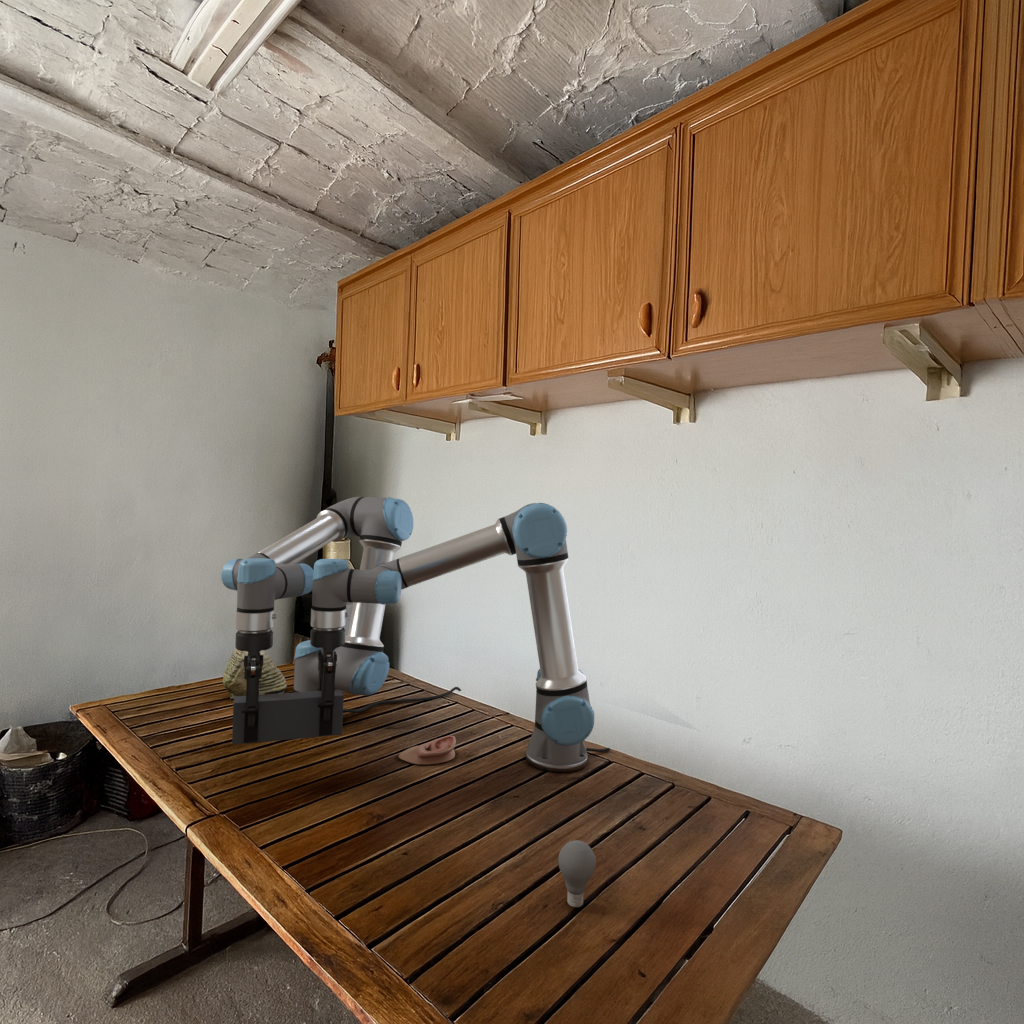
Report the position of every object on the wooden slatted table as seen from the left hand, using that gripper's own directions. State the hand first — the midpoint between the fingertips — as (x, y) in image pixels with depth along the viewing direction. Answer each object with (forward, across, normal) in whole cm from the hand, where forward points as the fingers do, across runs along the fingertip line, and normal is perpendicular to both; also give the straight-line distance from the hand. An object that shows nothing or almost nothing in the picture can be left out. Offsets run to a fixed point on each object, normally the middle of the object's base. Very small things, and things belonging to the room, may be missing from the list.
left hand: (250, 736), depth 138 cm
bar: (+1, 0, -8) cm, 8 cm away
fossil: (+11, +65, 0) cm, 66 cm away
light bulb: (+11, -58, -50) cm, 77 cm away
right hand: (0, 0, -15) cm, 15 cm away
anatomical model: (+11, +5, -41) cm, 42 cm away
